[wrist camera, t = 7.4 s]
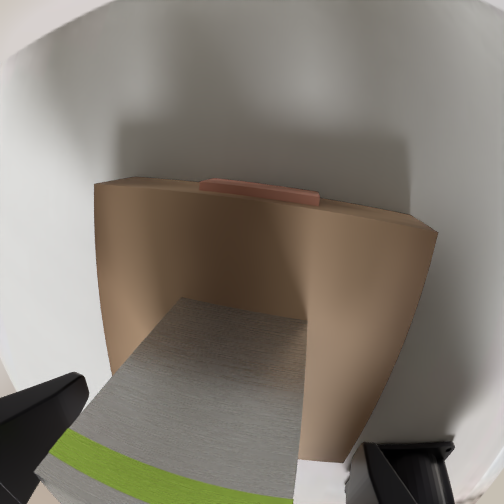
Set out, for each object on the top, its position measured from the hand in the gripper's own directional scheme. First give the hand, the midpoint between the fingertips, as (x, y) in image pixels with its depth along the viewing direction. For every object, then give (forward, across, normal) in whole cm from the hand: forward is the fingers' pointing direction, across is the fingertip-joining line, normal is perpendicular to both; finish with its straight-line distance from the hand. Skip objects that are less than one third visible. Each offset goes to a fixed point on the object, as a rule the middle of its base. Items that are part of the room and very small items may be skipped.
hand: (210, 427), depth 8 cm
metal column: (+4, 0, 0) cm, 4 cm away
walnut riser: (+6, 0, 0) cm, 6 cm away
